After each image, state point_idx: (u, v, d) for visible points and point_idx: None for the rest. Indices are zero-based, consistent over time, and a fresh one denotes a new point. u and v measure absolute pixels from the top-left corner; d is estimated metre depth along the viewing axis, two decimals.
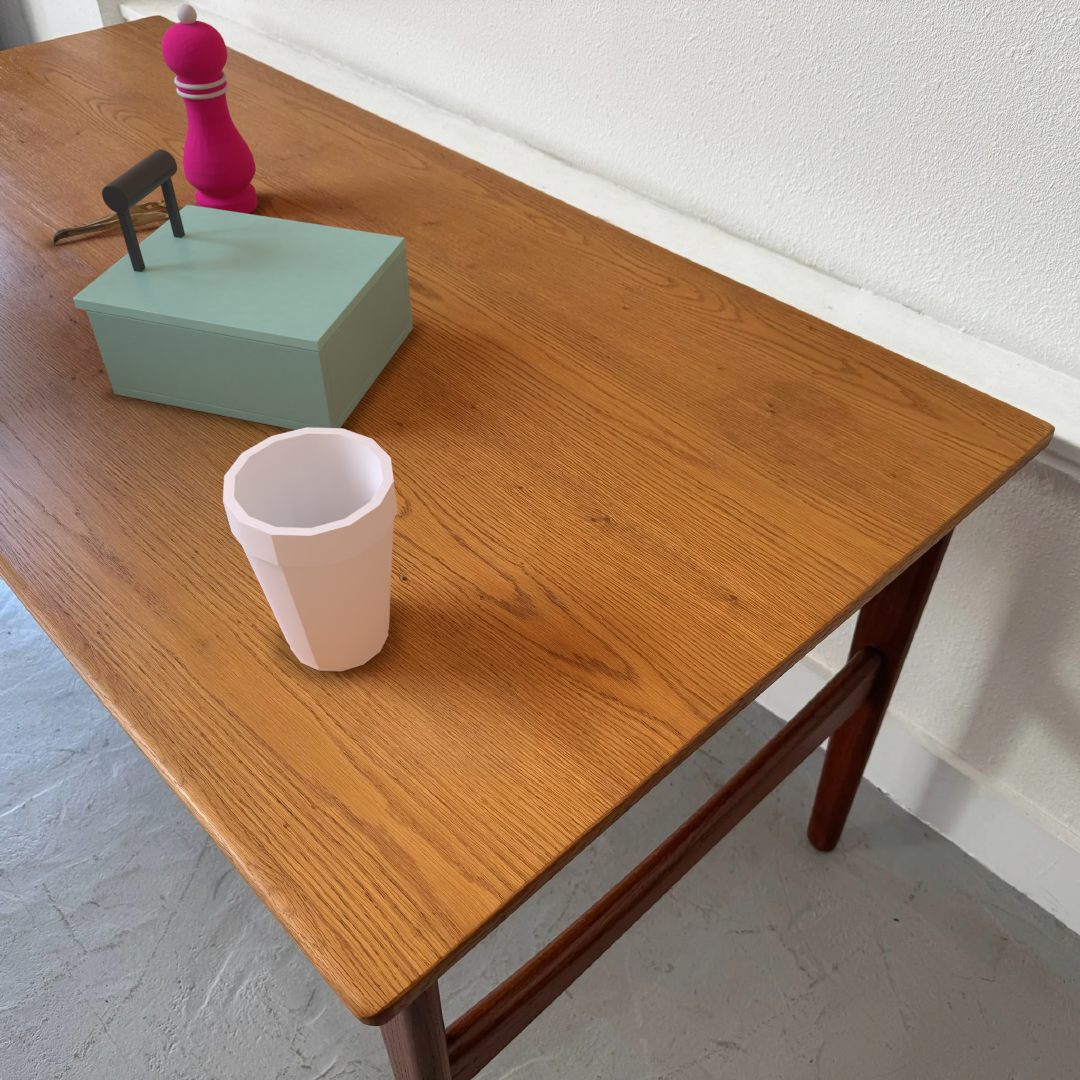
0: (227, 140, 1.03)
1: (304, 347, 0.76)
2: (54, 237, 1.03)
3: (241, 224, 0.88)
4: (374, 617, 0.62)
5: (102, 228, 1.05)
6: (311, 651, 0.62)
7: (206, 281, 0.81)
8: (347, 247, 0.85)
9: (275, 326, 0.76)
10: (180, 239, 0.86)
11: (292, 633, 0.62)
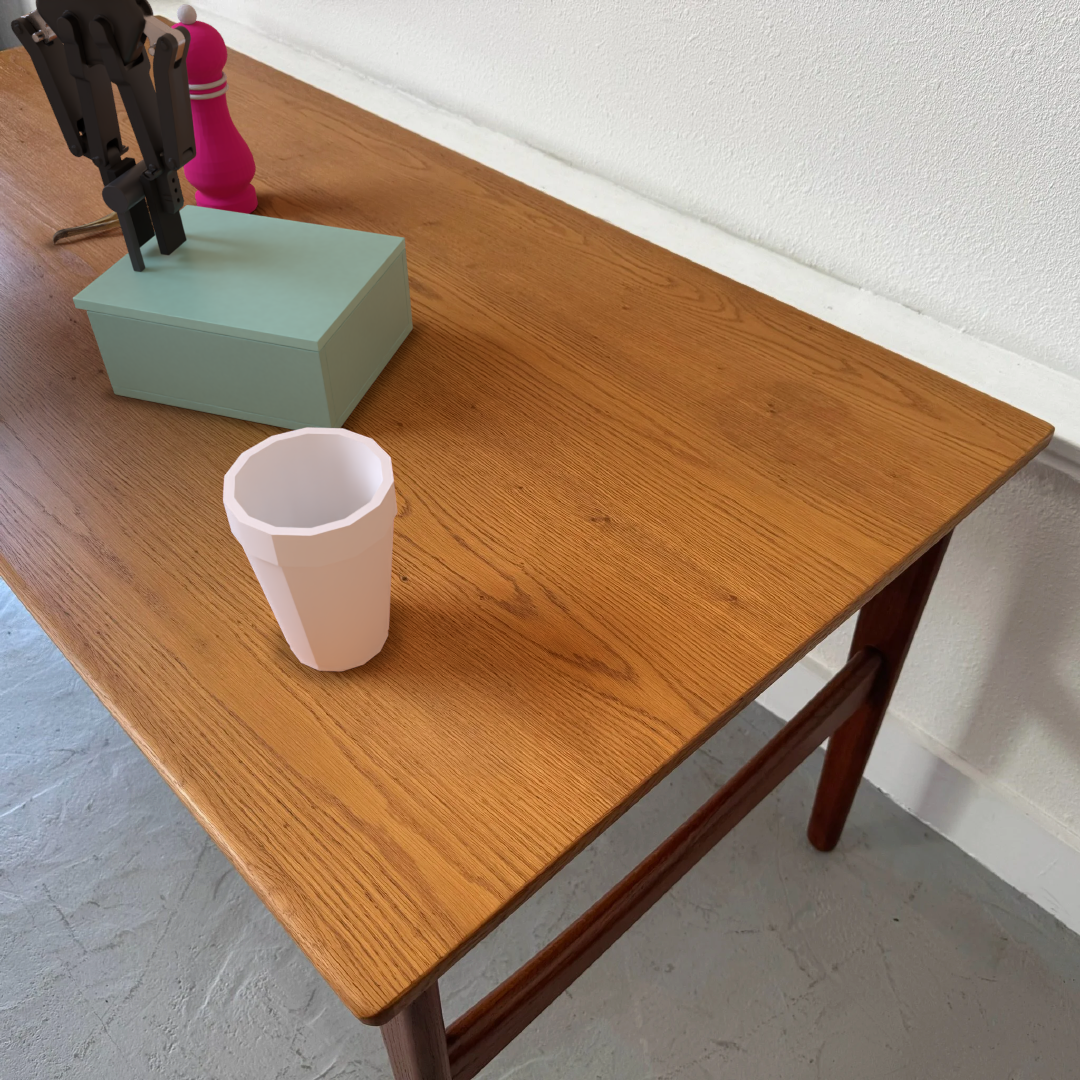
0: (227, 140, 1.03)
1: (304, 347, 0.76)
2: (54, 237, 1.03)
3: (241, 224, 0.88)
4: (374, 617, 0.62)
5: (102, 228, 1.05)
6: (311, 651, 0.62)
7: (206, 281, 0.81)
8: (347, 247, 0.85)
9: (275, 326, 0.76)
10: None
11: (292, 633, 0.62)
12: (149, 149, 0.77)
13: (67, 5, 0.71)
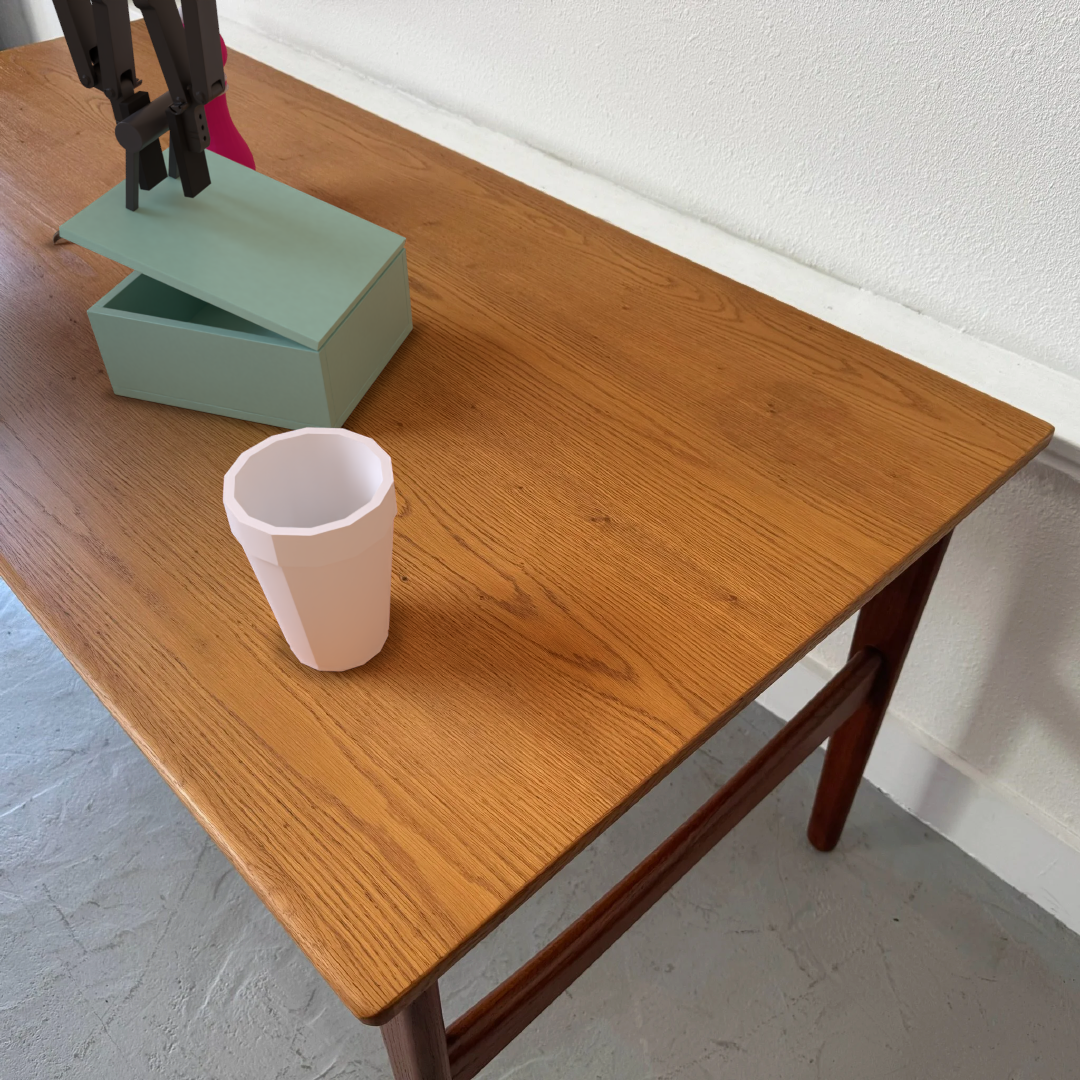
0: (227, 140, 1.03)
1: (303, 343, 0.75)
2: (54, 237, 1.03)
3: (239, 179, 0.85)
4: (374, 617, 0.62)
5: None
6: (311, 651, 0.62)
7: (204, 241, 0.79)
8: (349, 235, 0.84)
9: (276, 313, 0.76)
10: (175, 180, 0.82)
11: (292, 633, 0.62)
12: (175, 80, 0.72)
13: None
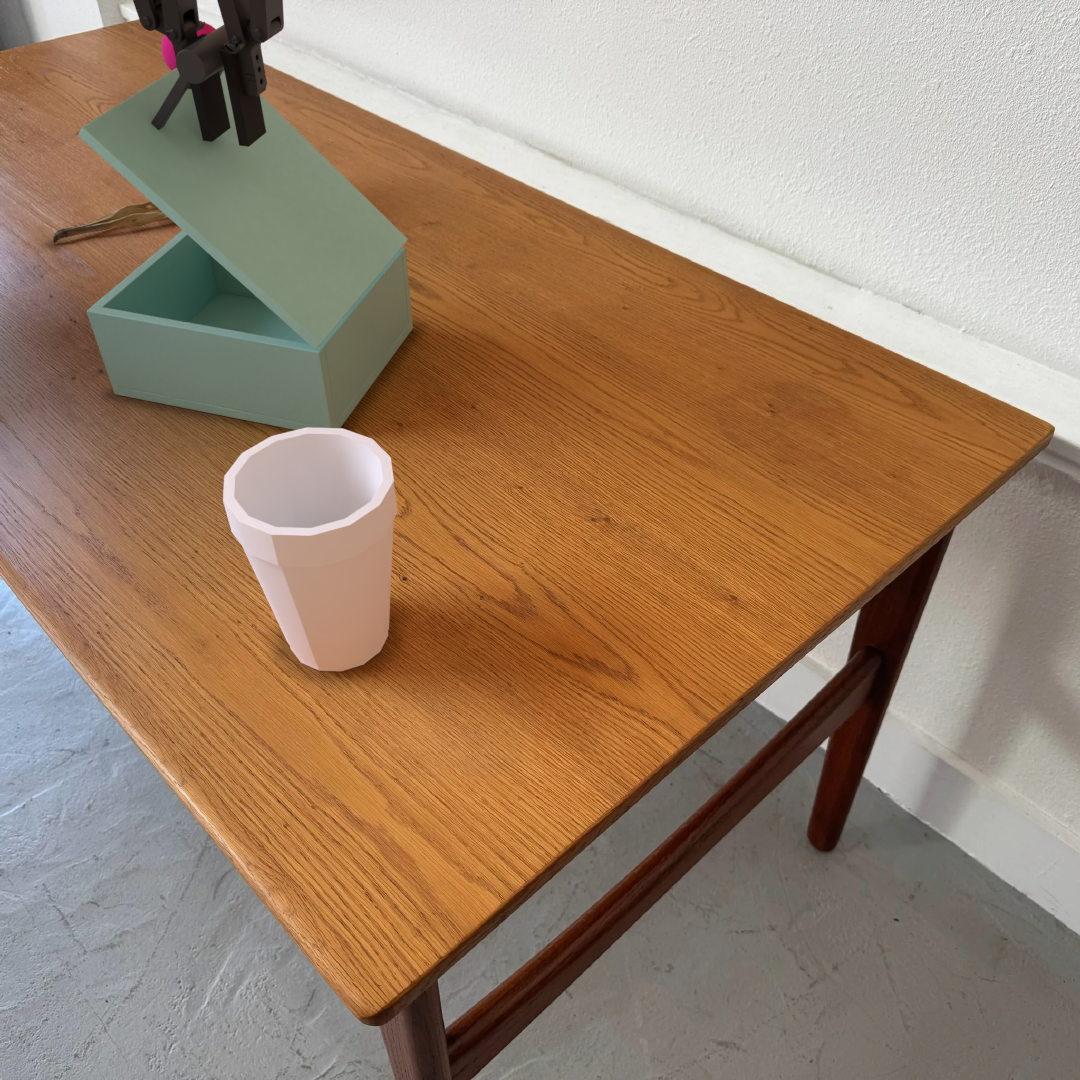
0: None
1: (304, 337, 0.75)
2: (54, 237, 1.03)
3: None
4: (374, 617, 0.62)
5: (102, 228, 1.05)
6: (311, 651, 0.62)
7: (224, 188, 0.75)
8: (358, 221, 0.83)
9: (285, 299, 0.74)
10: None
11: (292, 633, 0.62)
12: (232, 17, 0.68)
13: None
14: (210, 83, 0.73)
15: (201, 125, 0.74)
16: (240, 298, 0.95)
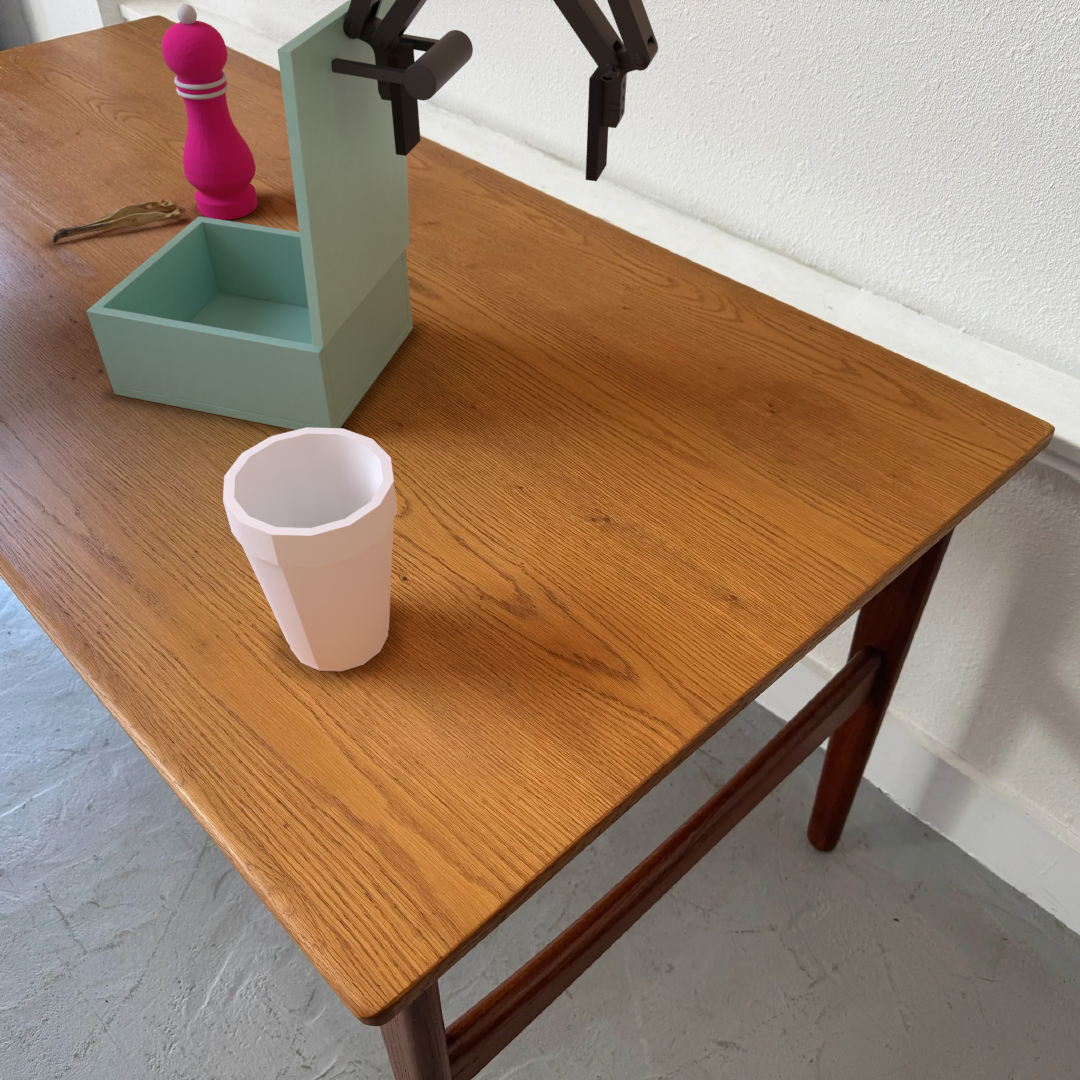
0: (227, 140, 1.03)
1: (313, 332, 0.74)
2: (54, 236, 1.03)
3: None
4: (374, 617, 0.62)
5: (102, 227, 1.05)
6: (311, 651, 0.62)
7: (341, 157, 0.70)
8: (394, 216, 0.82)
9: (324, 295, 0.73)
10: None
11: (292, 633, 0.62)
12: (599, 44, 0.62)
13: None
14: (408, 94, 0.69)
15: (396, 138, 0.70)
16: (240, 298, 0.95)
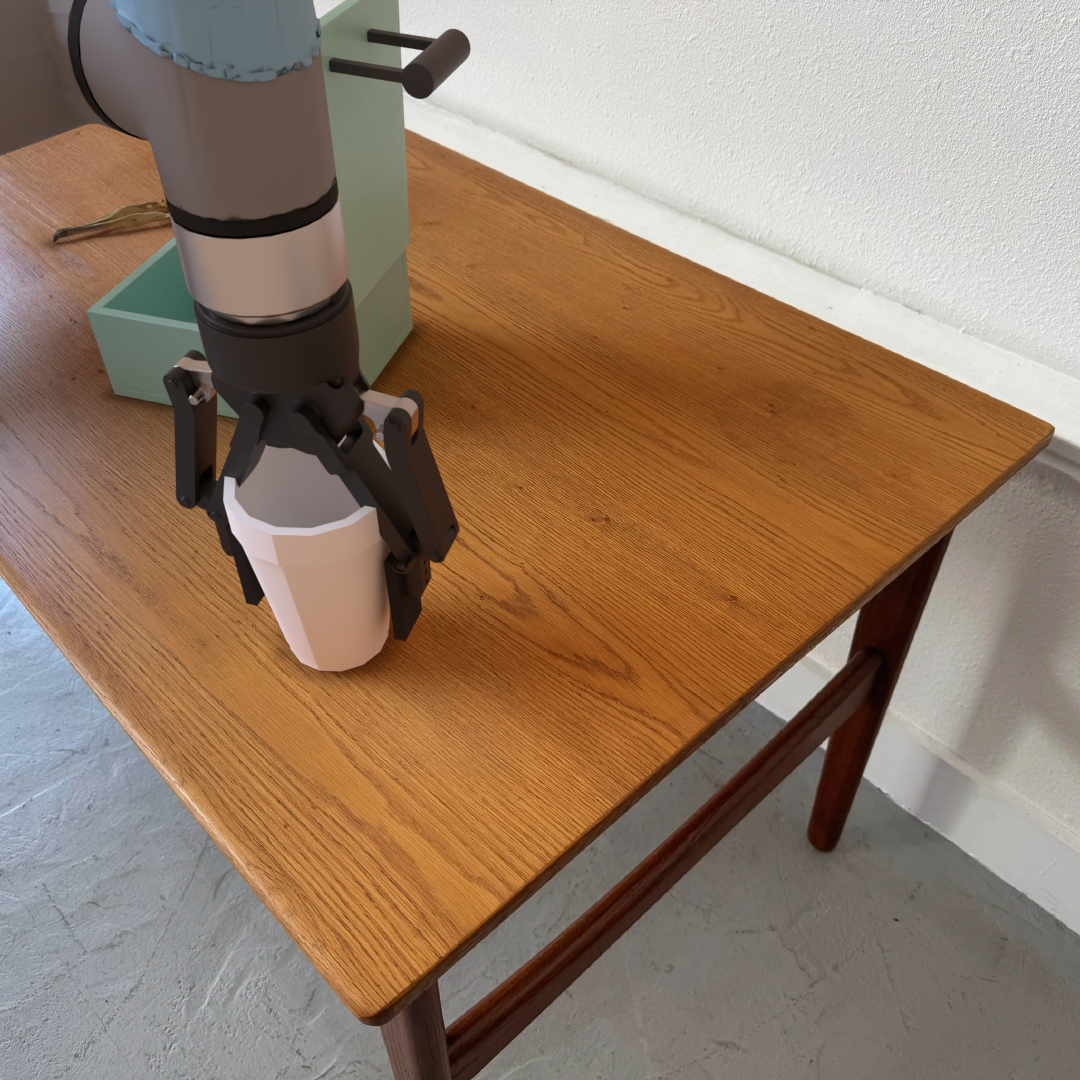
0: None
1: None
2: (54, 236, 1.03)
3: None
4: (374, 617, 0.62)
5: (101, 227, 1.05)
6: (311, 651, 0.62)
7: (339, 156, 0.70)
8: (393, 216, 0.82)
9: None
10: (366, 43, 0.70)
11: (292, 633, 0.62)
12: (394, 536, 0.57)
13: None
14: None
15: (245, 591, 0.64)
16: None
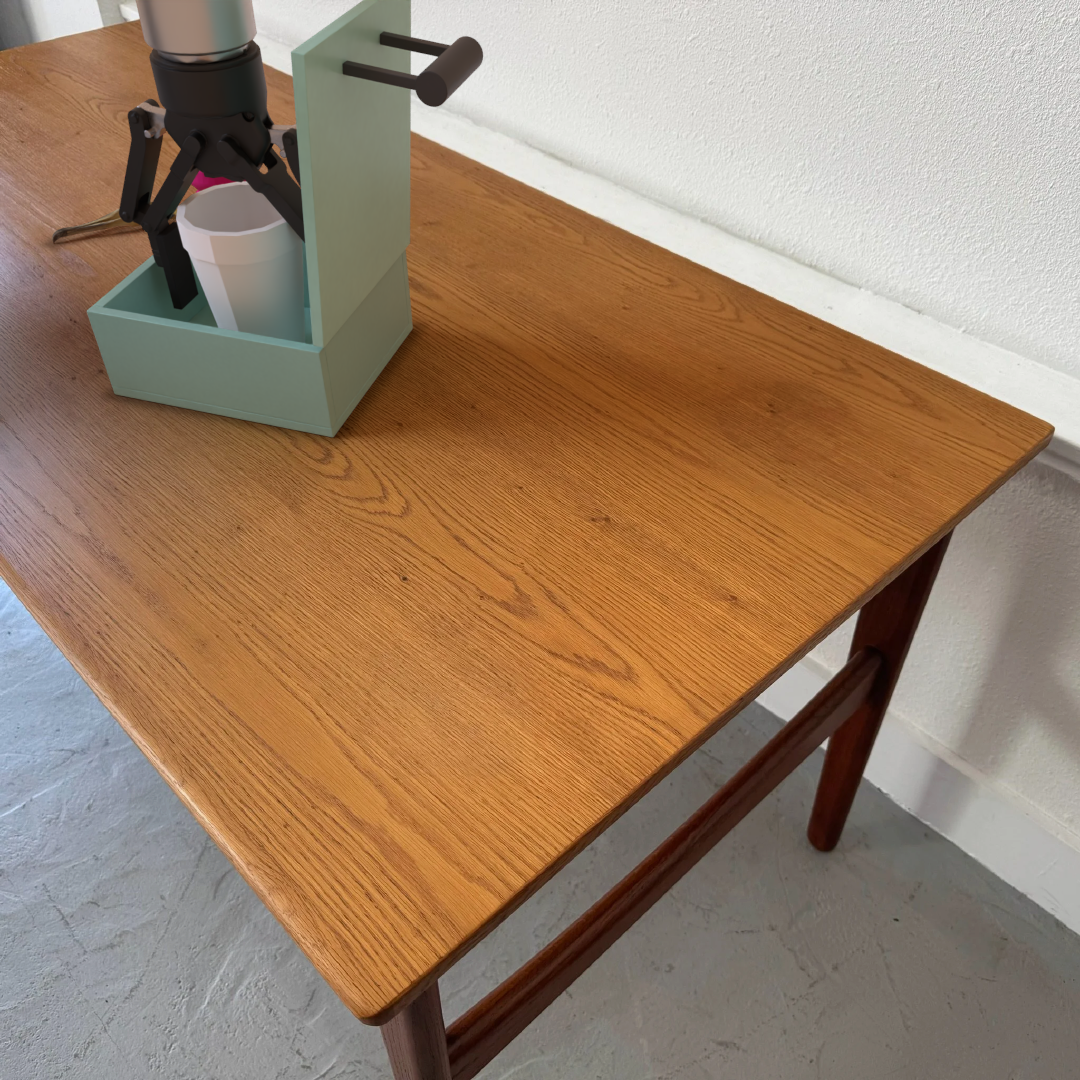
0: None
1: (313, 332, 0.74)
2: (53, 236, 1.04)
3: None
4: (291, 325, 0.84)
5: (101, 227, 1.05)
6: None
7: (348, 158, 0.70)
8: (396, 216, 0.82)
9: (326, 295, 0.73)
10: (378, 45, 0.70)
11: None
12: None
13: (195, 125, 0.74)
14: (180, 262, 0.85)
15: (172, 296, 0.86)
16: None
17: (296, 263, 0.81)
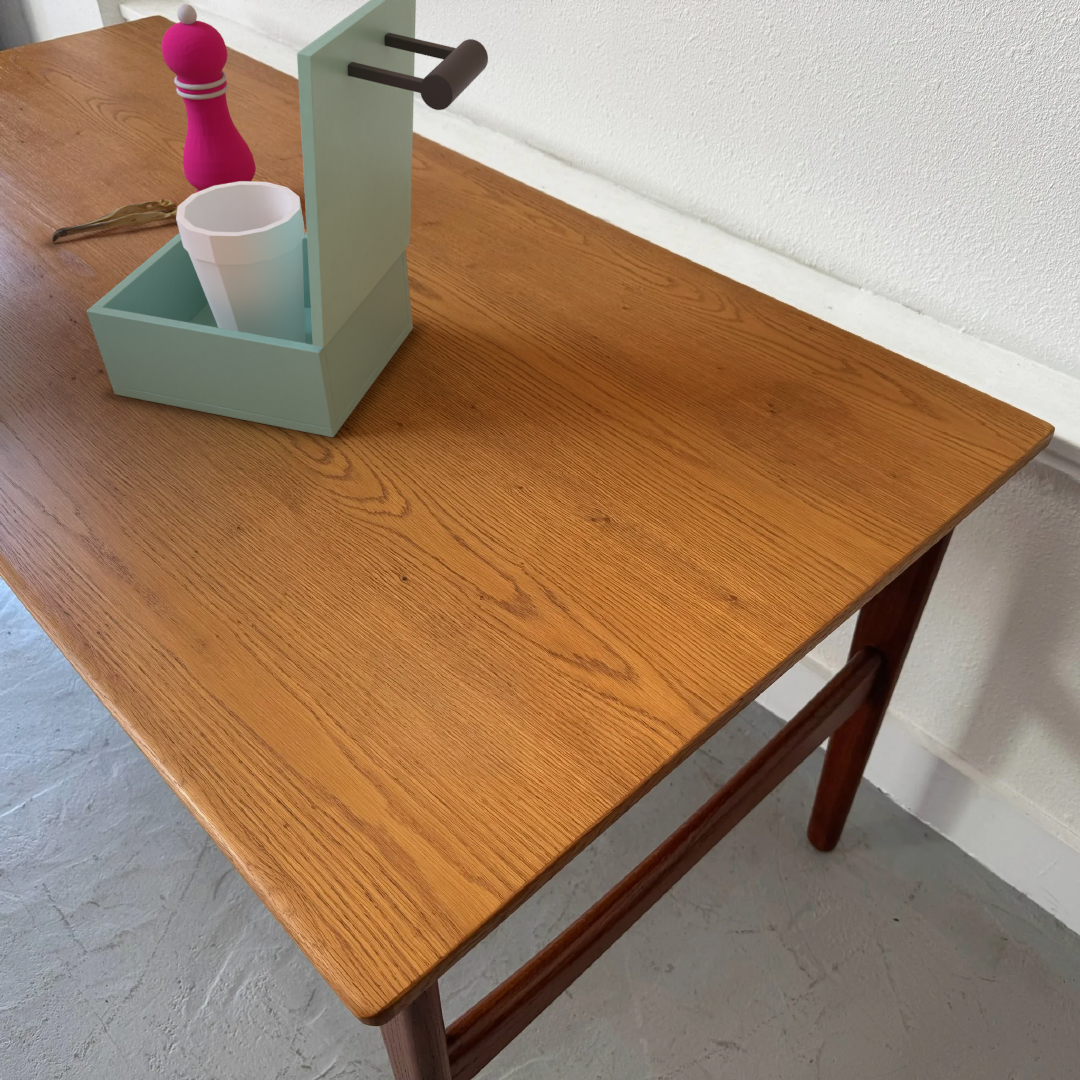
0: (227, 140, 1.03)
1: (314, 332, 0.74)
2: (53, 236, 1.04)
3: None
4: (291, 325, 0.84)
5: (101, 227, 1.05)
6: None
7: (351, 159, 0.70)
8: (397, 217, 0.82)
9: (327, 296, 0.73)
10: (383, 47, 0.70)
11: None
12: None
13: None
14: None
15: None
16: None
17: (296, 263, 0.81)
